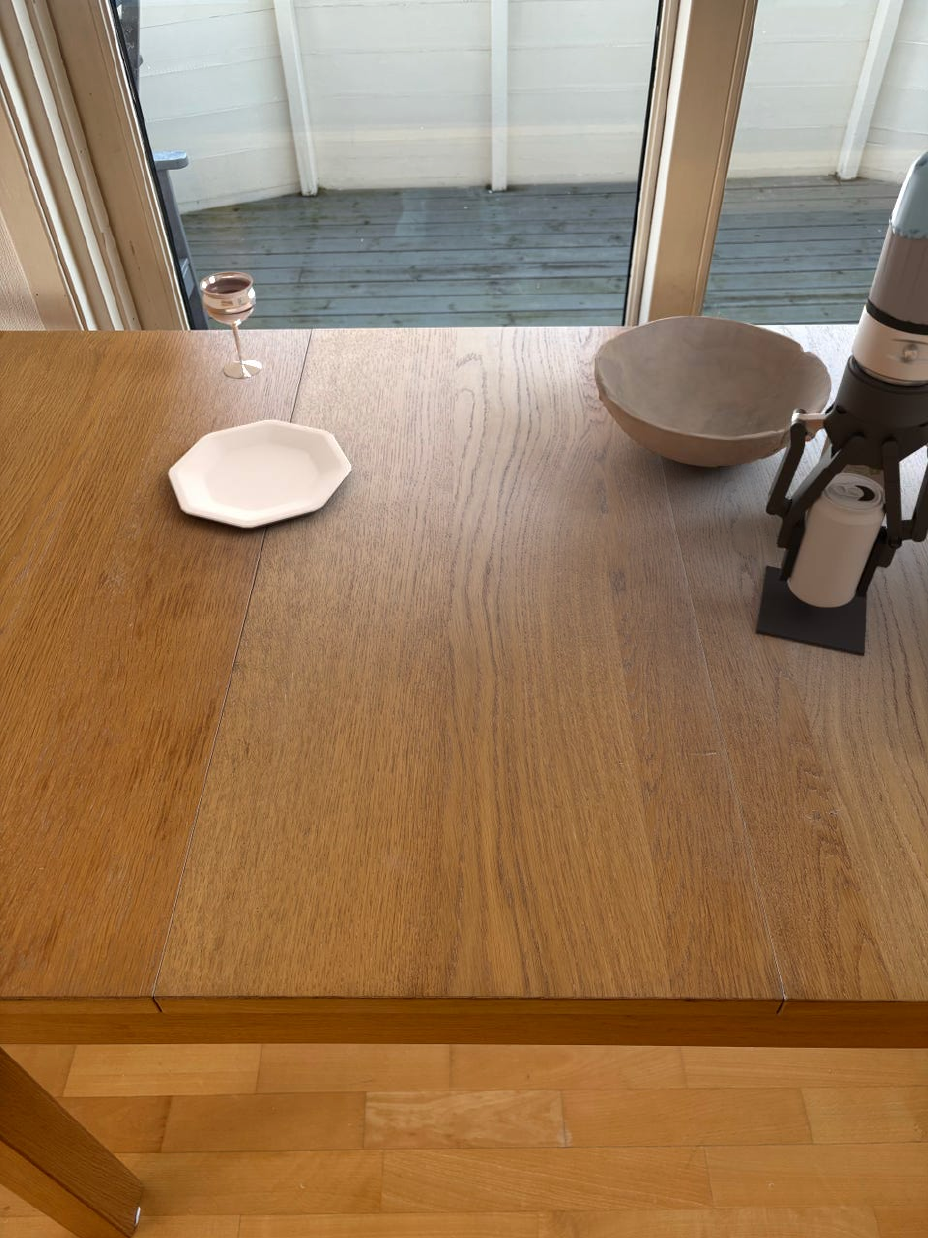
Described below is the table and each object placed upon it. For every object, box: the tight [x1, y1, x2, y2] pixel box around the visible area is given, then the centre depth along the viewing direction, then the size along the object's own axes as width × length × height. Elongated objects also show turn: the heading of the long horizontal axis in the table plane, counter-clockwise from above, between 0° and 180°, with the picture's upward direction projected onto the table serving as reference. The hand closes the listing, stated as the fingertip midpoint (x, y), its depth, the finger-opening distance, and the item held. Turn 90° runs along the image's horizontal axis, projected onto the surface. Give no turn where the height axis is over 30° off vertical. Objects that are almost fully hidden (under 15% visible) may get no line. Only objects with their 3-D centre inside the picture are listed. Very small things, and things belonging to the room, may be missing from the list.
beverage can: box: [787, 473, 886, 607], centre depth 88 cm, size 6×6×12 cm
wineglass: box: [199, 271, 262, 379], centre depth 124 cm, size 7×7×12 cm
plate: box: [167, 419, 352, 530], centre depth 109 cm, size 20×20×2 cm
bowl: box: [593, 315, 832, 468], centre depth 111 cm, size 26×26×10 cm
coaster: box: [755, 564, 868, 656], centre depth 94 cm, size 10×10×1 cm
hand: (822, 579), depth 91 cm, fingers closed on beverage can, 6 cm apart
